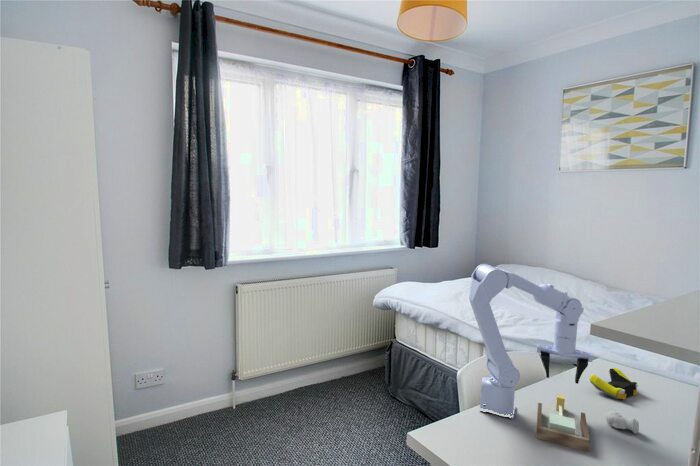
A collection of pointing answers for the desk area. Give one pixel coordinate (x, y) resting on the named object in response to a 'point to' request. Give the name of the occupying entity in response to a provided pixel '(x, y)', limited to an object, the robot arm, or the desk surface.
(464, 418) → the desk surface
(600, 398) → the desk surface
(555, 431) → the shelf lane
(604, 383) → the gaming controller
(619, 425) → the smooth white sculpture
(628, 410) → the desk surface
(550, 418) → the tethered block
